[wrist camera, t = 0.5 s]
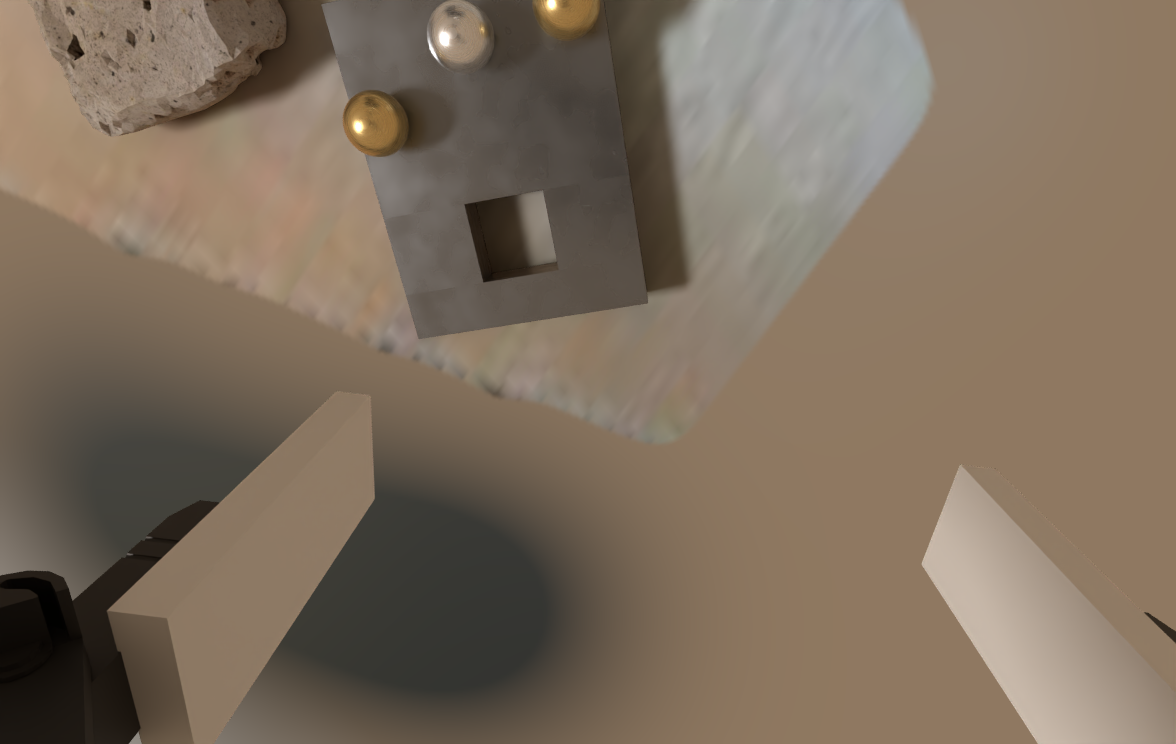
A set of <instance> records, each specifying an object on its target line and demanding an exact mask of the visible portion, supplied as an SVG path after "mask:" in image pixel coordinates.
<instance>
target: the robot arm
mask: <svg viewBox="0 0 1176 744" xmlns="http://www.w3.org/2000/svg"><path fill="white" fill-rule="evenodd" d="M374 498H375V495H374V470H373V447H372V421H371V396H370V395H364V394H356V393H347V392H339V391H336V392H335V393H334V394H333V395H332V396H331V397H330V398H329V399H328V400H327V401H326V402H325V403H324V404H323V405H322V406H321V407H320V408H319V409H318V410H317V411H315V412H314V413H313V414H312V415H311V416H310V417H309V418H308V419H307V420H306V421H305V422H304V423H303V424H302V425H301V426H300V427H299V428H298V429H297V430H296V431H295V432H293V434H291V435H290V436H289V437H288V438H287V439H286V440H285V441H284V442H283V443H282V444H281V445H280V446H279V447H278V448H277V449H276V450H275V451H274V452H273V453H271V455H269V456H268V457H267V458H266V459H265V460H264V461H263V462H262V463H261V464H260V465H259V466H258V467H257V468H256V469H255V470H254V471H253V472H252V473H251V474H249V475H248V477H246V478H245V479H244V480H243V481H242V482H241V483H240V484H239V485H238V486H237V487H236V488H235V489H234V490H233V491H232V492H231V493H230V494H229V495H228V496H226V497H225V498H224V499H223V500H222V501H221V502H220V503H218V502H210V501H201V500H200V501H198V502H196V503H194V504H192V505H190V506H188V507H186V508H184V509H182V510H180V511H178V512H177V513H174V514H173V515H171V516H169V517H168V518H166V519H165V520H164V521H163V522H162V523H161V524H160V525H159V526H157V527H156V528H155V529H154V530H153V531H152V532H151V533H149V534H148V535H147V536H146V540H145V541H142V540H141V541H140V542H139V543H138V544H137V545H136V546H135V547H134V548H132V549H131V550H130V551H129V552H128V553H127V556H126V558H121V559H120V560H119V561H118V562H116V563H115V564H114V565H113V566H112V567H111V568H110V569H108V570H107V571H106V572H105V573H104V574H103V575H102V576H100V578H98V579H97V580H96V581H95V582H94V583H93V584H91V585H90V586H89V587H88V588H87V589H86V590H85V591H84V592H83V593H81V594H80V595H79V596H78V597H77V598H75V599H74V600H73V601H72V599H71V595H70V592H69V588H68V586H67V584H66V582H65V580H64V578H63V577H61V576H59V575H56V574H54V573H52V572H49V571H23V572H17V573H13V574H6V575H1V576H0V744H129V743H130V741H131V740H132V739H133V737H134V736H135V735H136V734H137V732H138V731H139V735H140V739H141V742H142V744H214V742H215V741H216V739H217V738H218V736H219V735H220V733H221V732H222V730H223V728H224V727H225V725H226V724H227V722H228V721H229V719H230V718H231V716H232V715H233V713H234V712H235V710H236V709H237V707H238V706H239V704H240V703H241V701H242V699H243V698H244V697H245V695H246V694H247V692H248V690H249V689H250V687H251V686H252V684H253V683H254V681H255V680H256V678H257V677H258V675H259V674H260V672H261V671H262V669H263V668H264V666H265V665H266V663H267V662H268V660H269V658H270V657H271V655H272V654H273V652H274V651H275V649H276V648H277V646H278V645H279V643H280V642H281V640H282V639H283V637H284V636H285V634H286V633H287V631H288V630H289V628H290V627H291V625H292V624H293V622H294V621H295V619H296V617H297V616H298V614H299V613H300V611H301V610H302V608H303V607H304V605H305V604H306V602H307V601H308V599H309V598H310V596H311V595H312V593H313V591H314V590H315V589H316V587H317V585H318V584H319V582H320V581H321V579H322V578H323V576H324V575H325V573H326V572H327V570H328V569H329V567H330V566H331V564H332V563H333V561H334V560H335V558H336V557H337V555H338V553H339V552H340V551H341V549H342V548H343V546H344V544H345V543H346V541H347V540H348V538H349V537H350V535H351V534H352V532H353V531H354V529H355V528H356V526H357V525H358V523H359V522H360V520H361V518H362V517H363V515H364V514H365V512H366V511H367V509H368V508H369V506H370V505H371V503H372V502H373V500H374ZM922 566H923V567H924V569H925V570H926V572H927V573H928V575H929V576H930V578H931V579H932V581H933V583H934V584H935V586H936V587H937V589H938V590H939V592H940V593H941V595H942V596H943V598H944V600H945V601H946V603H947V604H948V606H949V607H950V609H951V610H952V611H953V613H954V615H955V616H956V618H957V620H958V621H959V623H960V624H961V625H962V627H963V629H964V630H965V632H966V633H967V635H968V636H969V638H970V640H971V641H972V642H973V644H974V646H975V647H976V648H977V650H978V652H979V653H980V655H981V657H982V658H983V660H984V661H985V663H986V664H987V666H988V667H989V669H990V670H991V672H992V673H993V675H994V677H995V678H996V680H997V681H998V683H999V684H1000V686H1001V687H1002V689H1003V690H1004V692H1005V693H1006V695H1007V697H1008V698H1009V700H1010V701H1011V703H1012V704H1013V706H1014V707H1015V709H1016V710H1017V712H1018V713H1019V715H1020V716H1021V718H1022V720H1023V721H1024V723H1025V724H1026V726H1027V727H1028V729H1029V730H1030V732H1031V734H1032V735H1033V737H1034V738H1035V740H1036V741H1037V743H1038V744H1176V631H1174V630H1173V629H1171V628H1170V627H1168V626H1167V625H1165V624H1164V623H1162V622H1161V621H1159V620H1158V619H1156V618H1155V617H1153V616H1152V615H1150V614H1149V613H1146V612H1142V610H1141V609H1140V608H1138V606H1137V605H1135V604H1134V603H1133V602H1132V601H1131V600H1130V599H1129V598H1128V597H1127V596H1126V595H1125V594H1124V593H1123V592H1122V591H1121V590H1120V589H1119V588H1118V587H1117V586H1116V585H1115V584H1114V583H1113V582H1112V581H1111V580H1110V579H1109V578H1108V577H1107V576H1105V574H1104V573H1102V572H1101V571H1100V570H1099V569H1098V568H1097V567H1096V566H1095V565H1094V564H1093V563H1092V562H1091V561H1090V560H1089V559H1088V558H1087V557H1086V556H1085V555H1084V554H1083V553H1082V552H1081V551H1080V550H1079V549H1078V548H1077V547H1076V546H1075V545H1073V543H1071V542H1070V541H1069V540H1068V539H1067V538H1066V537H1065V536H1064V535H1063V534H1062V533H1061V532H1060V531H1059V530H1058V529H1057V528H1056V527H1055V526H1054V525H1053V524H1052V523H1051V522H1050V521H1049V520H1048V519H1047V518H1046V517H1045V516H1044V515H1043V514H1042V513H1041V512H1040V511H1039V510H1038V509H1036V508H1035V507H1034V506H1033V505H1032V504H1031V503H1030V502H1029V501H1028V500H1027V499H1026V498H1025V497H1024V496H1023V495H1022V494H1021V493H1020V492H1019V491H1018V490H1017V489H1016V488H1015V487H1014V486H1013V485H1012V484H1011V483H1010V482H1008V481H1007V480H1006V479H1005V477H1004V476H1002V475H1001V474H1000V473H999V472H998V471H997V470H996V469H995V468H986V467H978V466H969V465H960V467H959V469H958V472H957V474H956V477H955V479H954V482H953V485H952V487H951V490H950V492H949V495H948V497H947V500H946V503H945V505H944V508H943V510H942V513H941V516H940V518H939V521H938V523H937V526H936V529H935V531H934V534H933V536H932V539H931V541H930V544H929V546H928V549H927V552H926V554H925V557H924V559H923V562H922Z"/></svg>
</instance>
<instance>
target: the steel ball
mask: <svg viewBox="0 0 1176 744" xmlns="http://www.w3.org/2000/svg"><path fill="white" fill-rule="evenodd" d="M427 40H428V45H429V48H430V50H431V52H432V54H433V56H434V57H435V59H436V60H437V61H438V62H439V63H440V64H441V65H442V66H443V67H444V68H446V69H447V70H449V71H451V72H454V73H458V74H470V73H474V72H476V71H478V70H480V69H481V68H482V67H483V66H485V64H486V63H487V62H488V61H489V59H490V57H491V55H492V52H493V49H494V31H493V27H492V25H491V22H490V20H489V18H488V17H487V15H486V14H485V13H484V11H483V10H482V9H481V8H480V7H478V6H477V5H475V4H474V3H472V2H470V1H467V0H448V1H445V2H443V3H442V4H440V5H439V6H438V7H437V8H436V9H435V10H434V11H433V13H432V15H431V17H430V19H429V22H428V26H427Z"/></svg>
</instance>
